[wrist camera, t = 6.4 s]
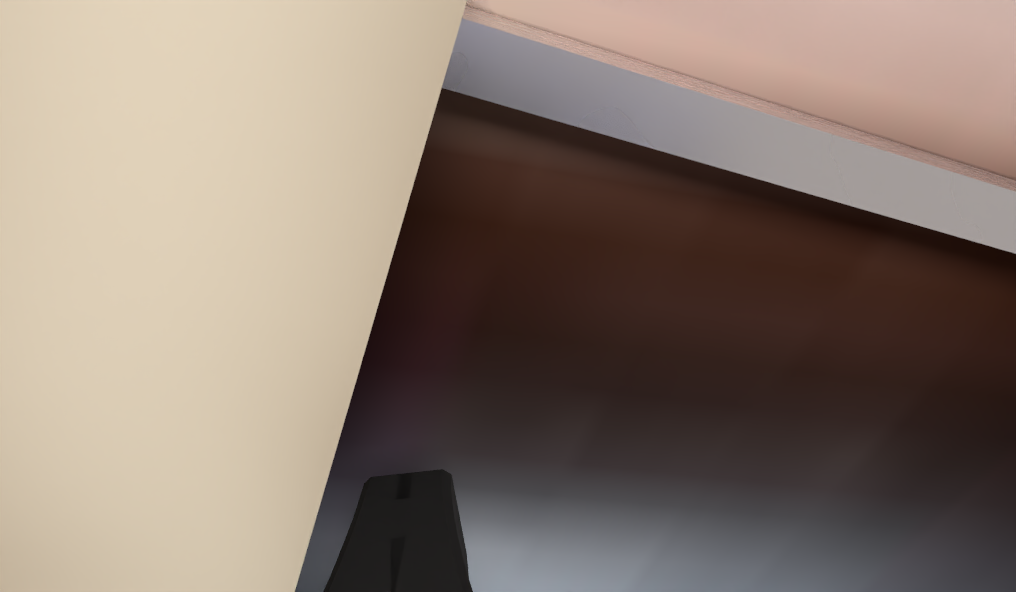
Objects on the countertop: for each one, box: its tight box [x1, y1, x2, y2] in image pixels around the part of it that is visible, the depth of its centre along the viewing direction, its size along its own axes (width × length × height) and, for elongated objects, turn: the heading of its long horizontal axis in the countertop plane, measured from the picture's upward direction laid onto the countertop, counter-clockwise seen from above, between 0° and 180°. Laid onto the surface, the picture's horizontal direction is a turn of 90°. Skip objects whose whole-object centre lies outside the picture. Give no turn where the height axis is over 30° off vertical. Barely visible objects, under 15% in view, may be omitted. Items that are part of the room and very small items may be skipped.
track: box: [442, 6, 1016, 254], centre depth 11 cm, size 23×16×2 cm
